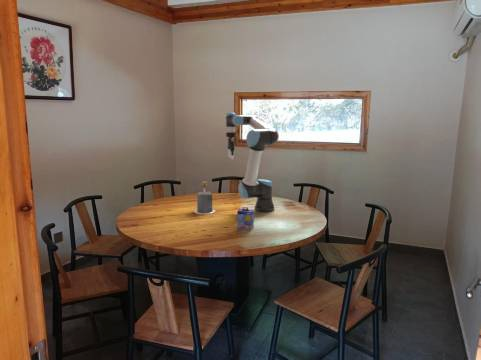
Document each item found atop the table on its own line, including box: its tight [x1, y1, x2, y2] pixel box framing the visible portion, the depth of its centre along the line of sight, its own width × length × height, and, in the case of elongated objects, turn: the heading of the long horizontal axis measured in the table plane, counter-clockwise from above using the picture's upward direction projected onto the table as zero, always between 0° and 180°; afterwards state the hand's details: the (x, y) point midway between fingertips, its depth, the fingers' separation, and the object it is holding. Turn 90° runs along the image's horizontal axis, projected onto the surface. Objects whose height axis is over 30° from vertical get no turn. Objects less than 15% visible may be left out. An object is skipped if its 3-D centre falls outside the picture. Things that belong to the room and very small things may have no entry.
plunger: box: [201, 180, 208, 193], centre depth 274 cm, size 8×8×19 cm
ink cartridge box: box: [237, 206, 255, 231], centre depth 237 cm, size 10×6×14 cm, turn 78°
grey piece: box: [196, 191, 213, 213], centre depth 276 cm, size 11×14×14 cm
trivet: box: [193, 208, 216, 215], centre depth 276 cm, size 16×16×1 cm
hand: (231, 158), depth 301 cm, fingers open, 13 cm apart
